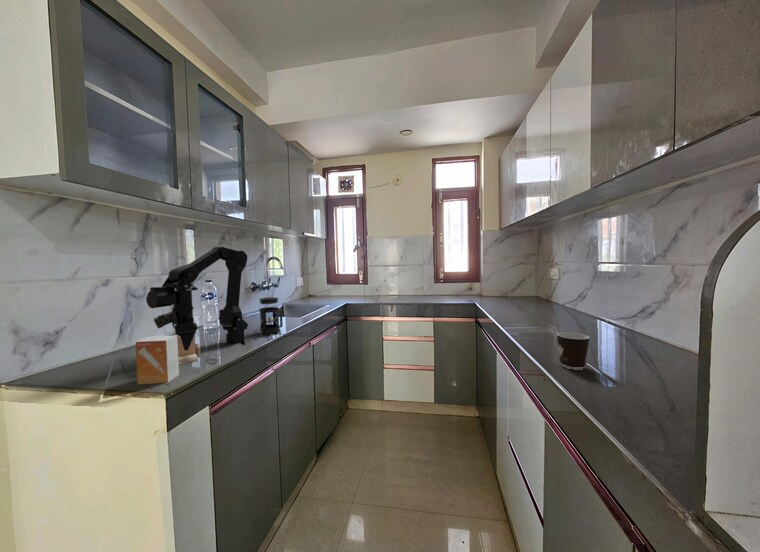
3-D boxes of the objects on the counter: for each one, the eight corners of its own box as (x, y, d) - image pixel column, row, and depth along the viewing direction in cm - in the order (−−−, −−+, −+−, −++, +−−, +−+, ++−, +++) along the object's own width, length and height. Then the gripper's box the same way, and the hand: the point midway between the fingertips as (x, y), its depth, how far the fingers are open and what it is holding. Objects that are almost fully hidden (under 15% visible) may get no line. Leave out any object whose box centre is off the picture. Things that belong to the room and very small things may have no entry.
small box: (137, 387, 86) (134, 341, 85) (150, 378, 92) (148, 336, 91) (168, 385, 87) (166, 340, 86) (179, 376, 93) (177, 334, 92)
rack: (197, 353, 117) (197, 343, 116) (200, 358, 110) (200, 347, 110) (169, 358, 111) (168, 347, 111) (170, 364, 105) (170, 352, 104)
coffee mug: (589, 374, 90) (590, 340, 89) (555, 369, 94) (556, 337, 94) (587, 362, 99) (588, 332, 99) (557, 358, 104) (557, 329, 103)
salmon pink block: (194, 357, 112) (193, 333, 111) (195, 359, 109) (194, 334, 109) (175, 361, 108) (173, 335, 108) (175, 363, 106) (174, 337, 105)
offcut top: (195, 357, 109) (195, 353, 109) (197, 360, 105) (197, 356, 105) (176, 361, 105) (176, 357, 105) (178, 364, 102) (178, 359, 102)
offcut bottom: (196, 361, 109) (196, 357, 109) (198, 365, 105) (198, 361, 105) (175, 365, 105) (175, 361, 105) (176, 369, 101) (176, 365, 101)
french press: (254, 334, 145) (252, 286, 144) (265, 330, 154) (264, 285, 153) (276, 335, 143) (275, 286, 142) (286, 331, 152) (285, 285, 151)
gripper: (154, 303, 110) (156, 346, 111) (155, 309, 95) (157, 358, 96) (190, 300, 117) (192, 340, 118) (196, 306, 102) (198, 351, 103)
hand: (185, 347), depth 109 cm, fingers open, 8 cm apart
